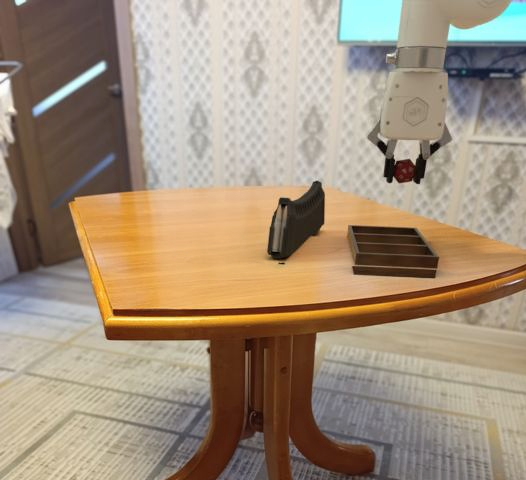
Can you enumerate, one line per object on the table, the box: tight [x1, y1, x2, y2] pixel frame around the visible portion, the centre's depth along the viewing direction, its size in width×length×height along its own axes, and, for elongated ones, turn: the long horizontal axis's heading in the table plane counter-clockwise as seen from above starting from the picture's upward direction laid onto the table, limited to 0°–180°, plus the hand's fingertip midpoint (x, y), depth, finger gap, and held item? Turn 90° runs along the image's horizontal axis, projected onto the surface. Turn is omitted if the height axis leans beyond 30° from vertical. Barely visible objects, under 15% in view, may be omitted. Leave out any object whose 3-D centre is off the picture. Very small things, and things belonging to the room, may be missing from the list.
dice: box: [393, 158, 417, 185], centre depth 88 cm, size 4×4×4 cm
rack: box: [346, 224, 440, 279], centre depth 91 cm, size 13×20×4 cm, turn 175°
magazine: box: [266, 180, 326, 266], centre depth 96 cm, size 17×3×30 cm
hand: (402, 181), depth 89 cm, fingers closed on dice, 4 cm apart
